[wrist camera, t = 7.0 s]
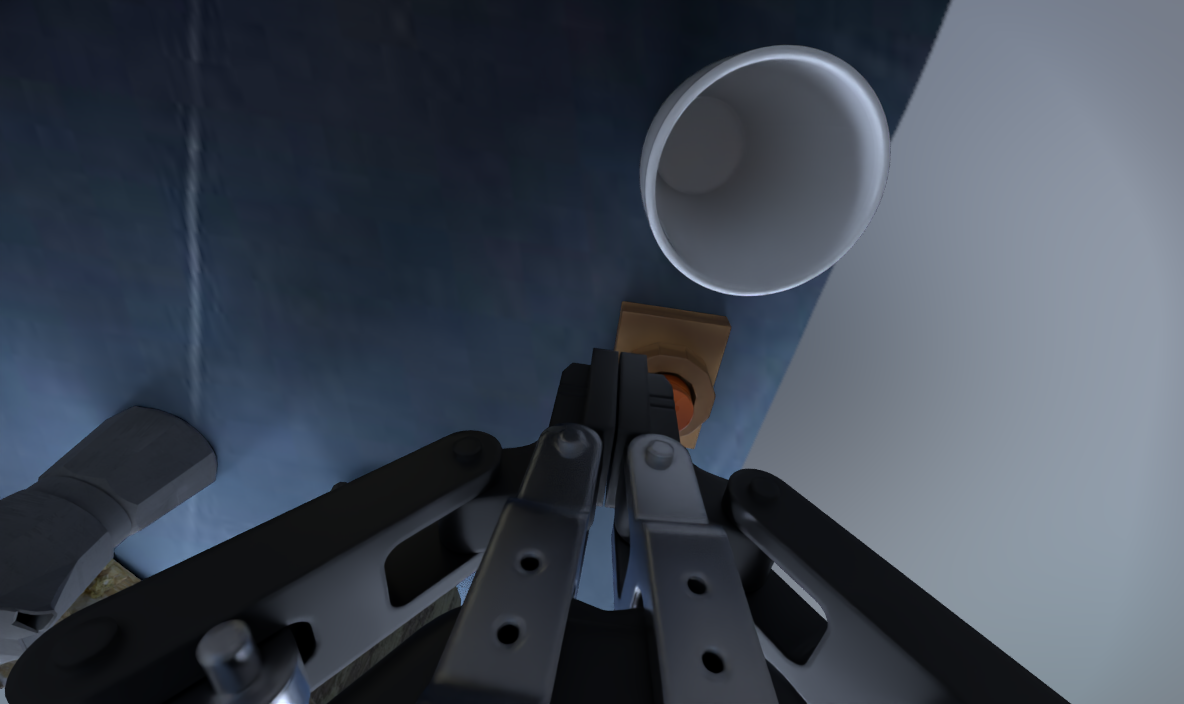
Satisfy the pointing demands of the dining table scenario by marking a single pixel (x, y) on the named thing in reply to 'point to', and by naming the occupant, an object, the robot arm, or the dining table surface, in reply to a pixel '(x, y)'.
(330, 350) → the dining table surface
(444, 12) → the dining table surface
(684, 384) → the button
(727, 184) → the drinking glass
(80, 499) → the coffeepot
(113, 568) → the ceramic model
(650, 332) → the block
